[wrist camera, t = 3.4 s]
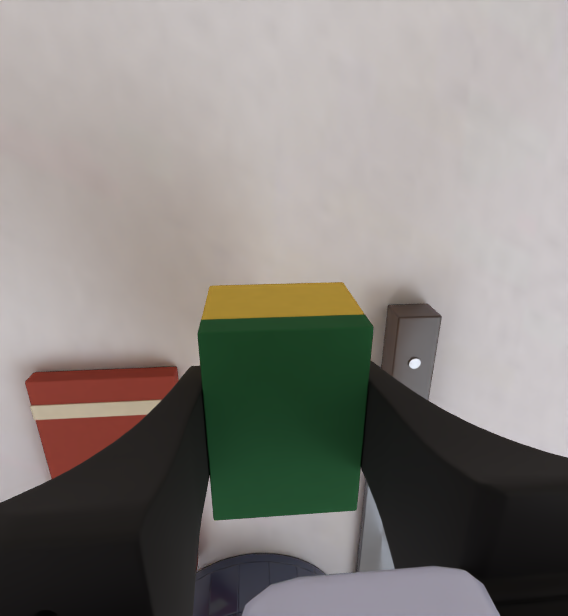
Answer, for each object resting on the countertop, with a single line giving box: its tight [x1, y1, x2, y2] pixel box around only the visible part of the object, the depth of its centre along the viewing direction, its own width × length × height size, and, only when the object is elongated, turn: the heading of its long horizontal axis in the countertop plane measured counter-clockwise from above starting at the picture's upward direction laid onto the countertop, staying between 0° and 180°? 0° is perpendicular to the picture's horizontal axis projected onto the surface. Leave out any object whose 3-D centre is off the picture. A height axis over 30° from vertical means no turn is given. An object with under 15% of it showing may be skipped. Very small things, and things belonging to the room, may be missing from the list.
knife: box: [357, 304, 442, 572], centre depth 21 cm, size 2×20×2 cm, turn 0°
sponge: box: [198, 282, 373, 520], centre depth 12 cm, size 4×6×3 cm
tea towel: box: [25, 367, 198, 570], centre depth 20 cm, size 6×12×1 cm, turn 0°
